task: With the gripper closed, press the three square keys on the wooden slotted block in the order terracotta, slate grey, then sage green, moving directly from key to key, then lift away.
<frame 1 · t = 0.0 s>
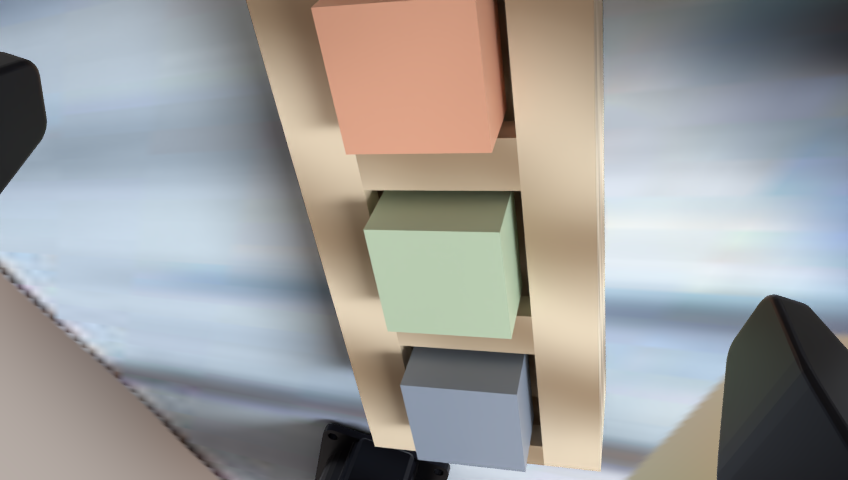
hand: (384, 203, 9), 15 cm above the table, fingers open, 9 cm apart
wooden slotted block: (474, 187, 26), on the table
key sage: (448, 260, 22), point 4 cm above the table, slide at 0.0 cm
key slate: (471, 402, 26), point 4 cm above the table, slide at 0.0 cm
key terracotta: (416, 62, 19), point 4 cm above the table, slide at 0.0 cm
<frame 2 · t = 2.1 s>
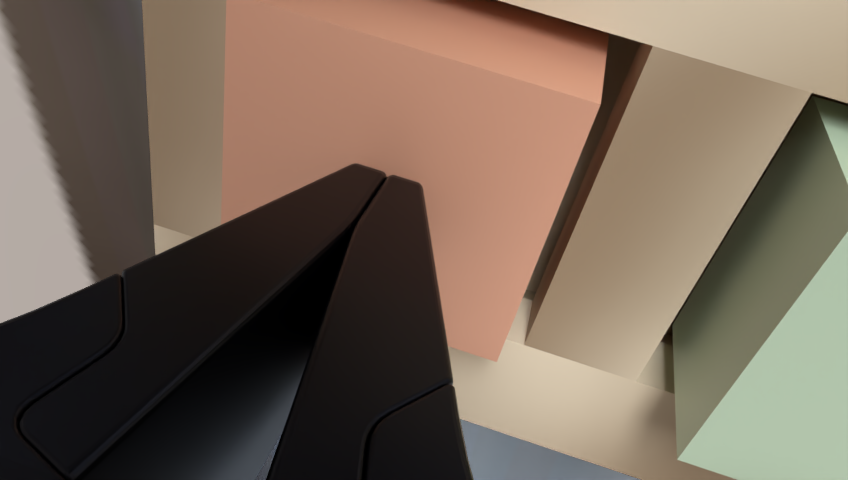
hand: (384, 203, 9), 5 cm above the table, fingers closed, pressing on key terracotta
wooden slotted block: (835, 157, 12), on the table
key terracotta: (406, 149, 10), point 4 cm above the table, slide at 0.6 cm, touching gripper
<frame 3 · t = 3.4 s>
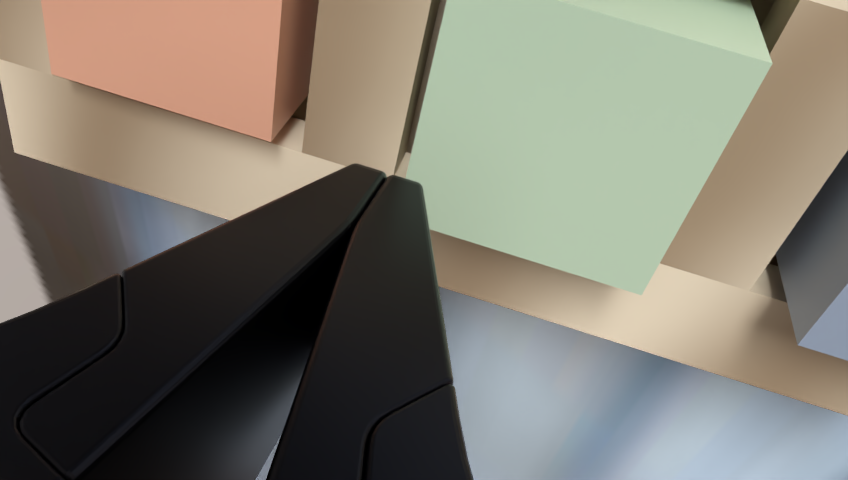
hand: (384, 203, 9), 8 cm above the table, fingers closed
wooden slotted block: (581, 10, 14), on the table
key sage: (565, 110, 11), point 4 cm above the table, slide at 0.0 cm
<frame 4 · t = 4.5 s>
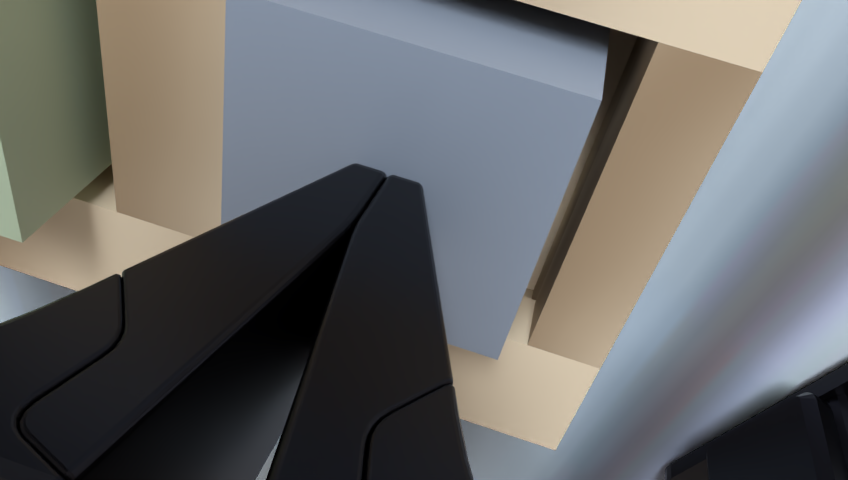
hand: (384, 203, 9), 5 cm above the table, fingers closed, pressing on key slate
key slate: (407, 147, 10), point 4 cm above the table, slide at 0.7 cm, touching gripper
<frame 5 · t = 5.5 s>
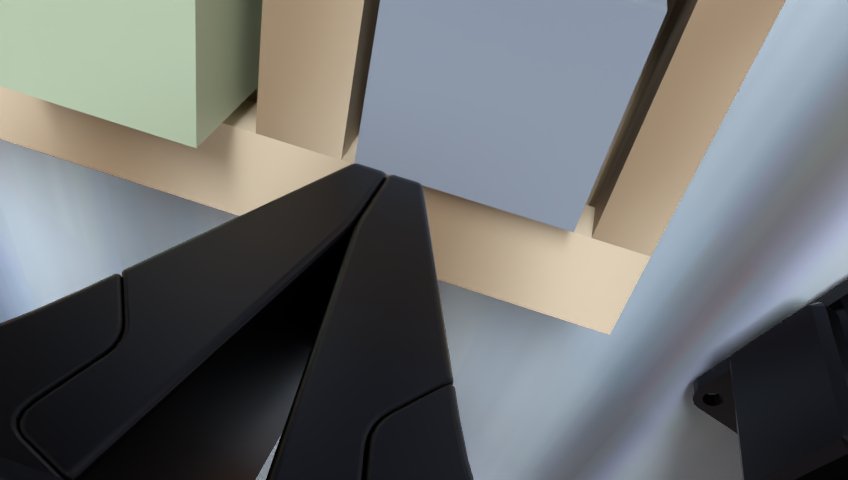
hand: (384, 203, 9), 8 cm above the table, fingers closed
key slate: (504, 65, 12), point 3 cm above the table, slide at 1.0 cm
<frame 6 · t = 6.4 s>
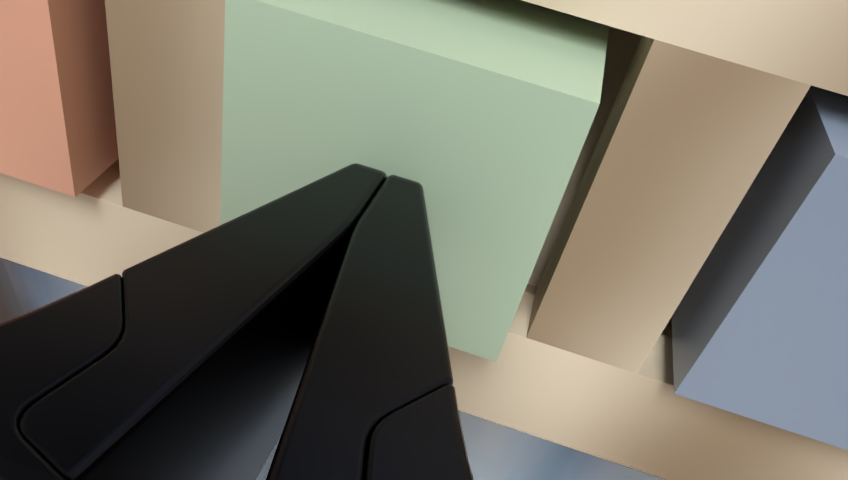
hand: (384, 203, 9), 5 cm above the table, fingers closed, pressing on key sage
wooden slotted block: (462, 41, 12), on the table
key sage: (405, 149, 10), point 4 cm above the table, slide at 0.5 cm, touching gripper
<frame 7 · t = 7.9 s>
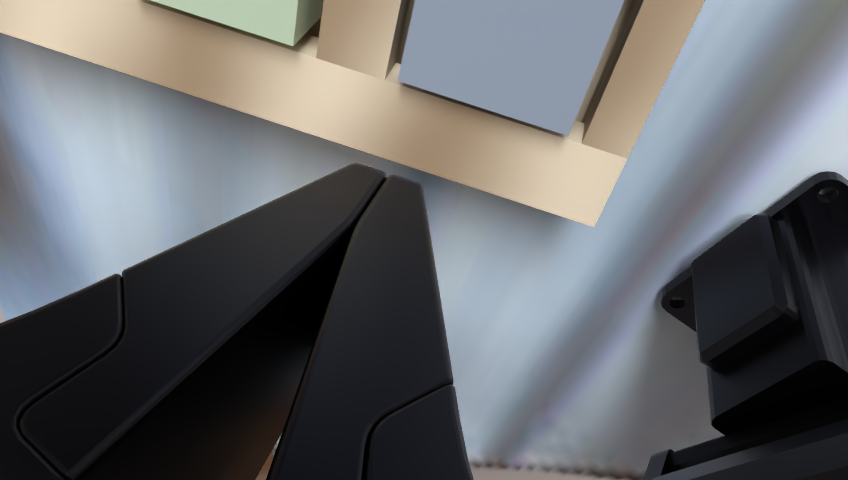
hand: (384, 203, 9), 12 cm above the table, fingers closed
key slate: (516, 3, 16), point 3 cm above the table, slide at 1.0 cm
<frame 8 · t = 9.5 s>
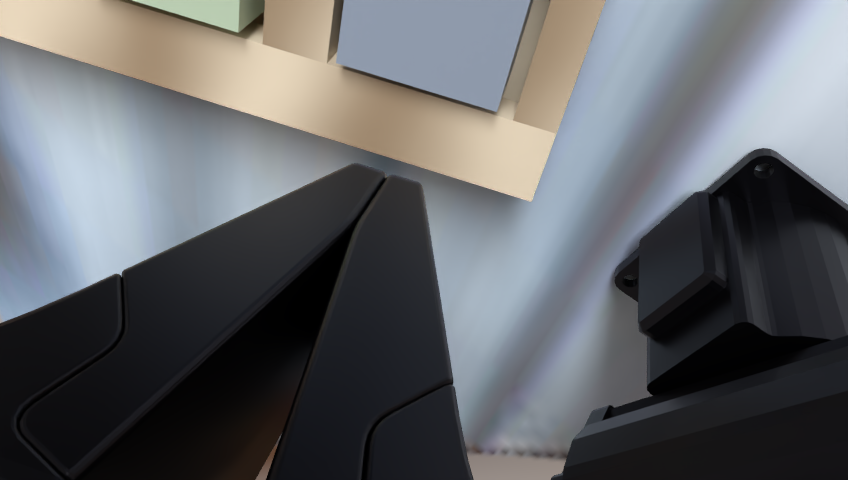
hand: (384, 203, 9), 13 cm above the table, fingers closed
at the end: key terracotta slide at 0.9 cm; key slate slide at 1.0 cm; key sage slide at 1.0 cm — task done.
